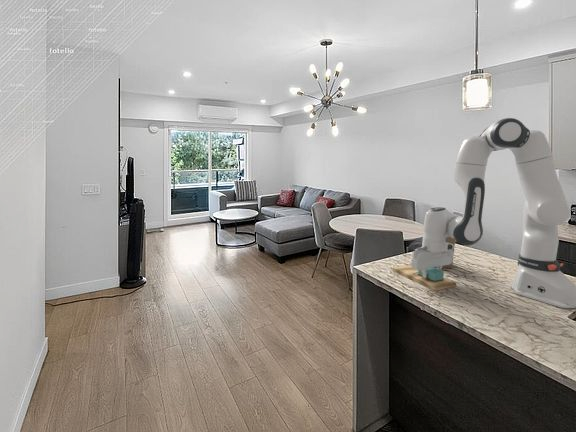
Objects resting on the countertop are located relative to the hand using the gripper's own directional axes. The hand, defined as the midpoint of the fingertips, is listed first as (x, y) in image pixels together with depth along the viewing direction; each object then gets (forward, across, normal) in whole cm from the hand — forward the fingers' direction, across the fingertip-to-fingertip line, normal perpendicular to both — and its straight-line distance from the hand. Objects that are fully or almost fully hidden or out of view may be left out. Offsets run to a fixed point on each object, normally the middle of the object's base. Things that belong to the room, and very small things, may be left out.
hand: (430, 276), depth 135 cm
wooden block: (+2, +21, +15) cm, 26 cm away
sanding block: (+1, 0, 0) cm, 1 cm away
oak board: (+2, 0, +4) cm, 5 cm away
